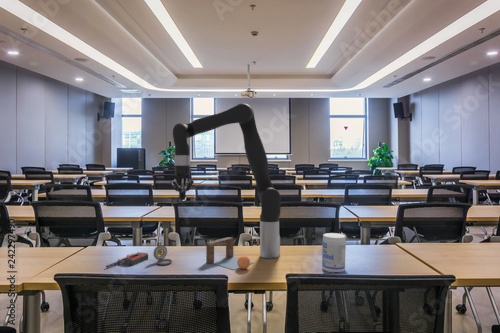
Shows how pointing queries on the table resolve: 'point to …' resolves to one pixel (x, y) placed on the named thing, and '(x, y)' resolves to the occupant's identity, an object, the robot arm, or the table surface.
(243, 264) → the ball
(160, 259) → the pocket watch
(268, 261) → the table surface
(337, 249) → the supplement tub
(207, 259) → the bridge
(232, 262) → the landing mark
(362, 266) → the table surface
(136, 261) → the walkie-talkie
